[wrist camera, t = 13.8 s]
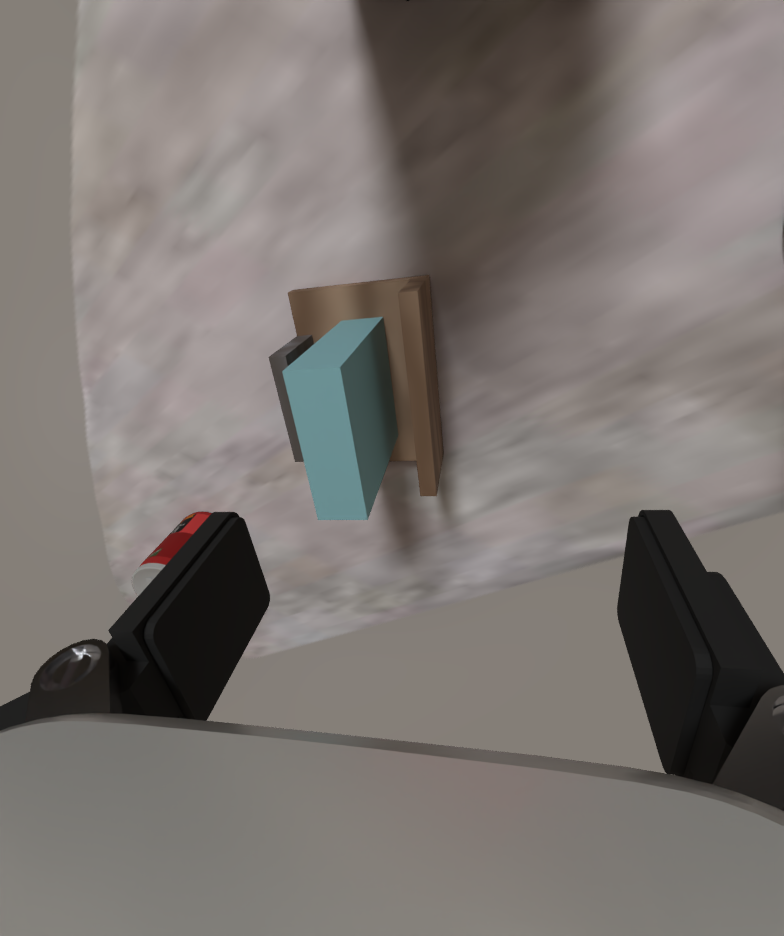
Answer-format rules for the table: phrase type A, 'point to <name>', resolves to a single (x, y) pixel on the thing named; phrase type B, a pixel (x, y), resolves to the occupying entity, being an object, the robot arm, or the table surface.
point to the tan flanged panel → (407, 353)
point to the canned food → (166, 551)
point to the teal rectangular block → (344, 416)
